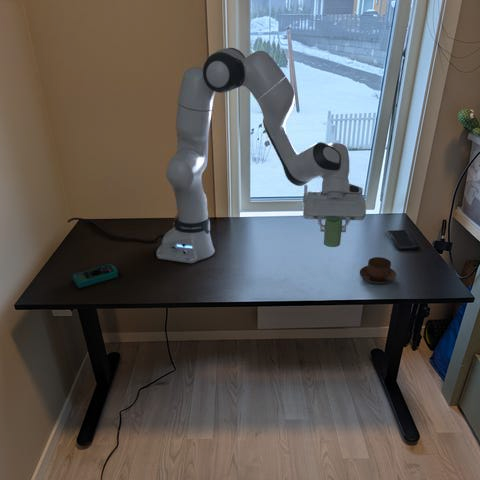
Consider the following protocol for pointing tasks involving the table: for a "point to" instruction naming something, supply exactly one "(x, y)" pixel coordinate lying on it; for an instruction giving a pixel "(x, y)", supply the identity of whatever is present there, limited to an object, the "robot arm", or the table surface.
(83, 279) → the digital multimeter
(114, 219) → the table surface
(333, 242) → the green cylindrical container
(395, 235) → the phone
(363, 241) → the table surface
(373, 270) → the cup and saucer
